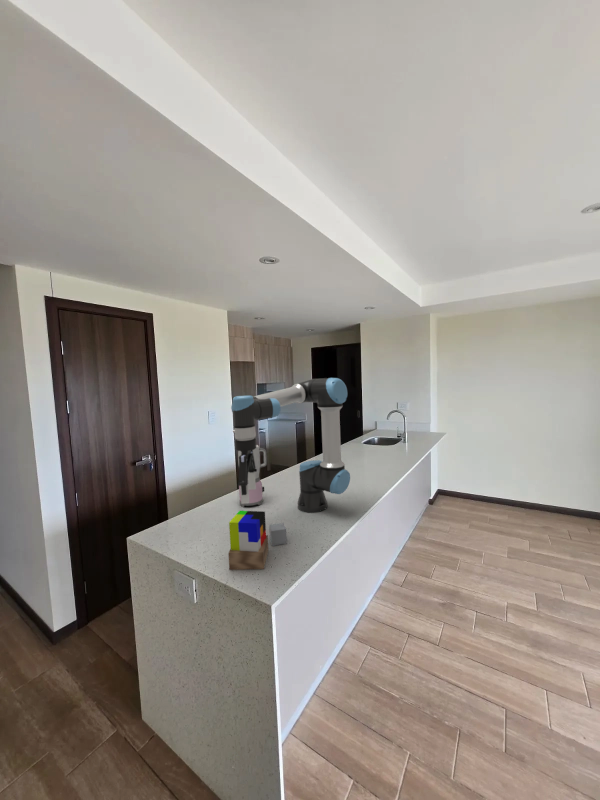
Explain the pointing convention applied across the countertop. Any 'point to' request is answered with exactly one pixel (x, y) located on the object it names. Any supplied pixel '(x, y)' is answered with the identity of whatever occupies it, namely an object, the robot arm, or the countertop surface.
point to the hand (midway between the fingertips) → (249, 495)
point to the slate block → (277, 534)
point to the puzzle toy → (247, 531)
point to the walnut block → (248, 558)
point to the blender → (255, 494)
